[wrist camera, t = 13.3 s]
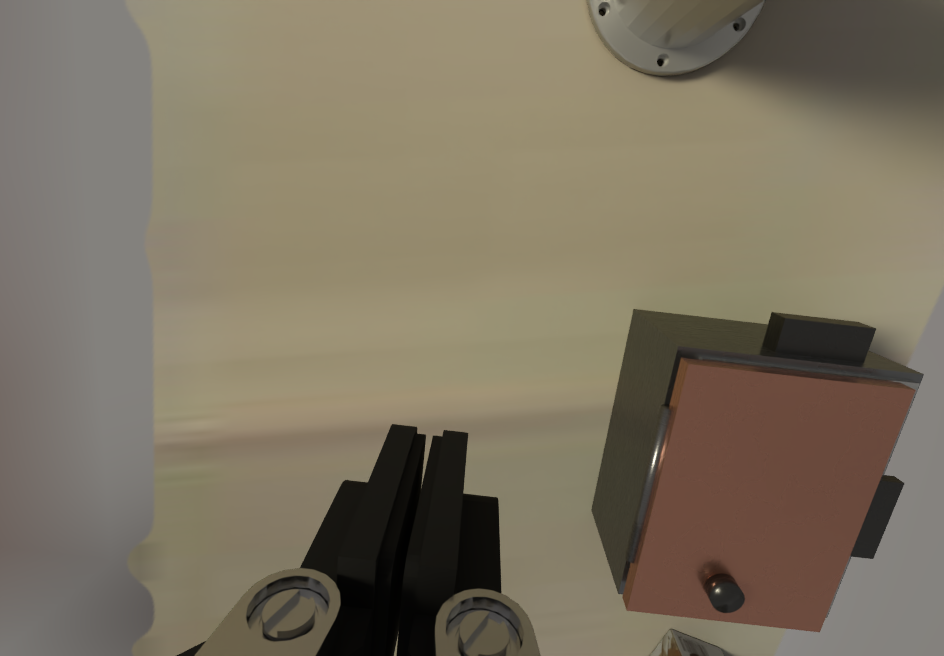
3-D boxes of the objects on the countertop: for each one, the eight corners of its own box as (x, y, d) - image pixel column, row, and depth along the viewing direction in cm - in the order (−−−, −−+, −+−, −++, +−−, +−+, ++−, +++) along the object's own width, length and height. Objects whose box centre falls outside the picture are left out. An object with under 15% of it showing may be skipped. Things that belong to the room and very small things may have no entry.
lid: (670, 354, 31) (688, 370, 28) (921, 382, 31) (963, 401, 28) (614, 590, 37) (624, 624, 34) (828, 615, 37) (856, 650, 34)
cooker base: (639, 281, 40) (689, 312, 30) (837, 304, 40) (954, 342, 30) (587, 531, 47) (613, 624, 37) (756, 550, 47) (829, 648, 37)
